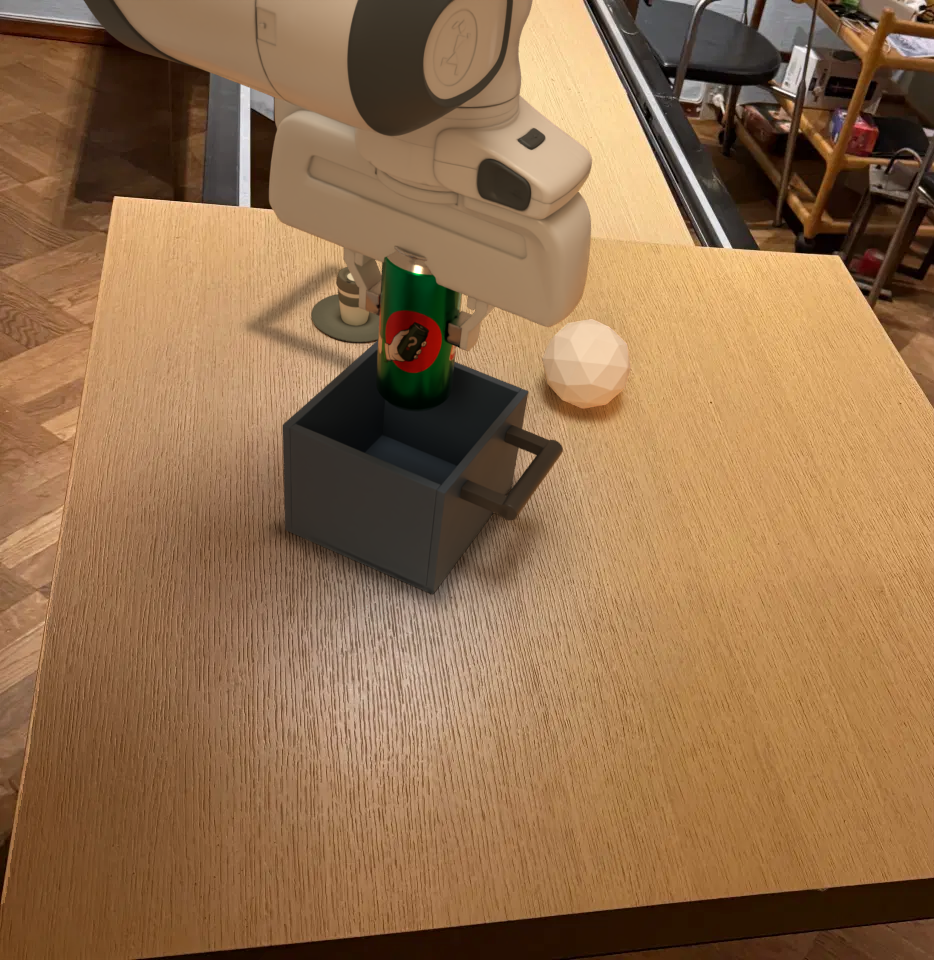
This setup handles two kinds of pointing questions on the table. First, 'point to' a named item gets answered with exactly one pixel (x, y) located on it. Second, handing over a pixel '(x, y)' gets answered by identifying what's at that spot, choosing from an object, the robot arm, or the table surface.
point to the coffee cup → (345, 313)
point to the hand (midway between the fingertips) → (419, 326)
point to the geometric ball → (586, 363)
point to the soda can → (414, 334)
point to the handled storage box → (407, 470)
